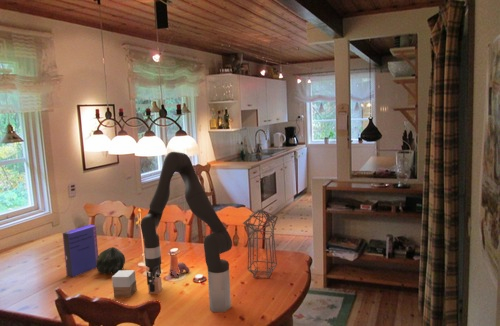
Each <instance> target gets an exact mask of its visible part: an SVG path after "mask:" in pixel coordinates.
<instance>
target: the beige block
mask: <svg viewBox="0 0 500 326" xmlns="http://www.w3.org/2000/svg"><path fill="white" fill-rule="evenodd" d="M154 285H155V291H154V292H150V286H149V285H147V287H148V289H147V290H148V294H160V292H161V291H162V290H163V286H162V285H163V284H162V277H161V276H159V277H156V280H155V283H154Z"/></svg>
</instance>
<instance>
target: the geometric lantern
mask: <svg viewBox="0 0 500 326" xmlns="http://www.w3.org/2000/svg"><path fill="white" fill-rule="evenodd" d="M270 215H271V216H270ZM252 218H255V220H254V221H253V223H251V220H252ZM263 219H265V221H263ZM257 220H258V224H255V223H256V221H257ZM277 221H278V216H277V215H274V214H272V213H270V212H268V211H265V210H264V209H262V208H260V209H257V210H255V211H254V212H253V213H251V214H250V215H248V218H247V219H246V220H245V221H242V224H243V225H245V226H246V232H247V238H248V247H247V249H248V251H247V271H249V272H250V273H251V274H253V275H252V278H255V279H270V278H271V274H272V273H273V271H274V270H275V268H276V267H277V265H278V261H277V251H276V243H275V242H276V241H275V226H276V224H277ZM262 223H263V224H262ZM254 227H257V228H256V229H254ZM260 227H261V228H260ZM268 227H269V228H270V230H271V231H270V230H267V231H266V230H264V229H266V228H268ZM249 228H250V229H251V230H252V231H251V232H250V233H249ZM258 232H260V234H261V235H262V236H263V238H262V237H258V236H259V235H258ZM263 232H264V233H270V235H269V237H267V238H266V237H265V235H264V234H263ZM255 233H256V237H255ZM251 239H252V240H251ZM255 239H256V260H254V258H255V256H254V255H255ZM259 240H265V255H266V260H265V261H264V260H263V261H262V260H258V259H259V258H258V254H259V252H258V250H259V248H258V247H259V244H258V241H259ZM267 240H268V244H267ZM268 245H269V256H270V261H269V260H268ZM271 246H272V247H271ZM274 258H275V259H274ZM255 263H256V264H258V263H266V270H259V267H258V265H255ZM269 263H270V266H269ZM273 264H274V265H273ZM252 266H254V270H253V269H252ZM256 275H259V276H256ZM260 276H261V277H260ZM262 276H263V277H262ZM264 276H266V277H264Z"/></svg>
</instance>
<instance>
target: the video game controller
mask: <svg viewBox="0 0 500 326" xmlns="http://www.w3.org/2000/svg"><path fill="white" fill-rule="evenodd" d="M177 263H178V267H179V269H178V271H179V270H180V272H179V274H183V273H184V272H186V273H190V272H191V271H190V270H191V269H190V268H189V267H188V266H187V264H186V263H184V262H177ZM169 272H170V273H171V272H172V273H171V274H172V276H173V275H174V276H175V277H179V274H178V275H177V273H176V271H171V267H170V268H169ZM174 276H173V277H174ZM175 277H174V278H175Z"/></svg>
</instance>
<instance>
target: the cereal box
mask: <svg viewBox="0 0 500 326" xmlns="http://www.w3.org/2000/svg"><path fill="white" fill-rule="evenodd" d="M62 241H63V249H64V250H63V252H64V261H65V272H66V277H69V278H74V277H76V276H80V275H82V274H85V273H87V272H90V271H91V270H94V269H97V266H96V261H97V258H98V256H99V249H98V248H99V247H98V237H97V227H96V225H94V224H89V225H84V226H82V227H78V228H75V229H72V230H68V231H65V232H62Z"/></svg>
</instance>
